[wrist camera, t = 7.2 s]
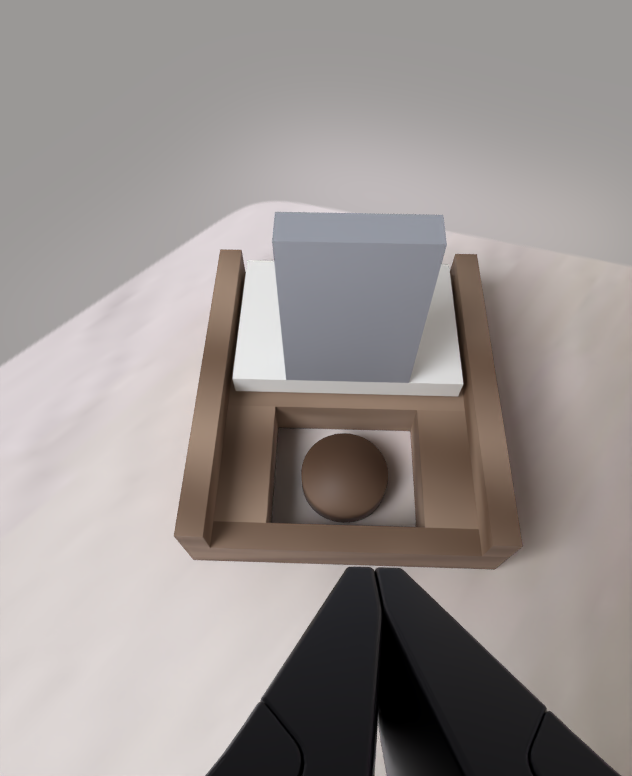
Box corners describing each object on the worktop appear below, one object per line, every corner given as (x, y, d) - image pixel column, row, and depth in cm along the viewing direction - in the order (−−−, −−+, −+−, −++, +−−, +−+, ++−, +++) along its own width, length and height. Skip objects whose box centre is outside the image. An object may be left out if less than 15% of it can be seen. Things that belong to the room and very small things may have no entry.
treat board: (494, 569, 22) (522, 546, 19) (193, 559, 22) (173, 535, 19) (460, 302, 29) (476, 254, 26) (230, 297, 29) (220, 249, 26)
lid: (457, 396, 23) (524, 246, 16) (235, 390, 23) (196, 240, 16) (444, 278, 26) (494, 107, 19) (249, 274, 27) (222, 104, 19)
